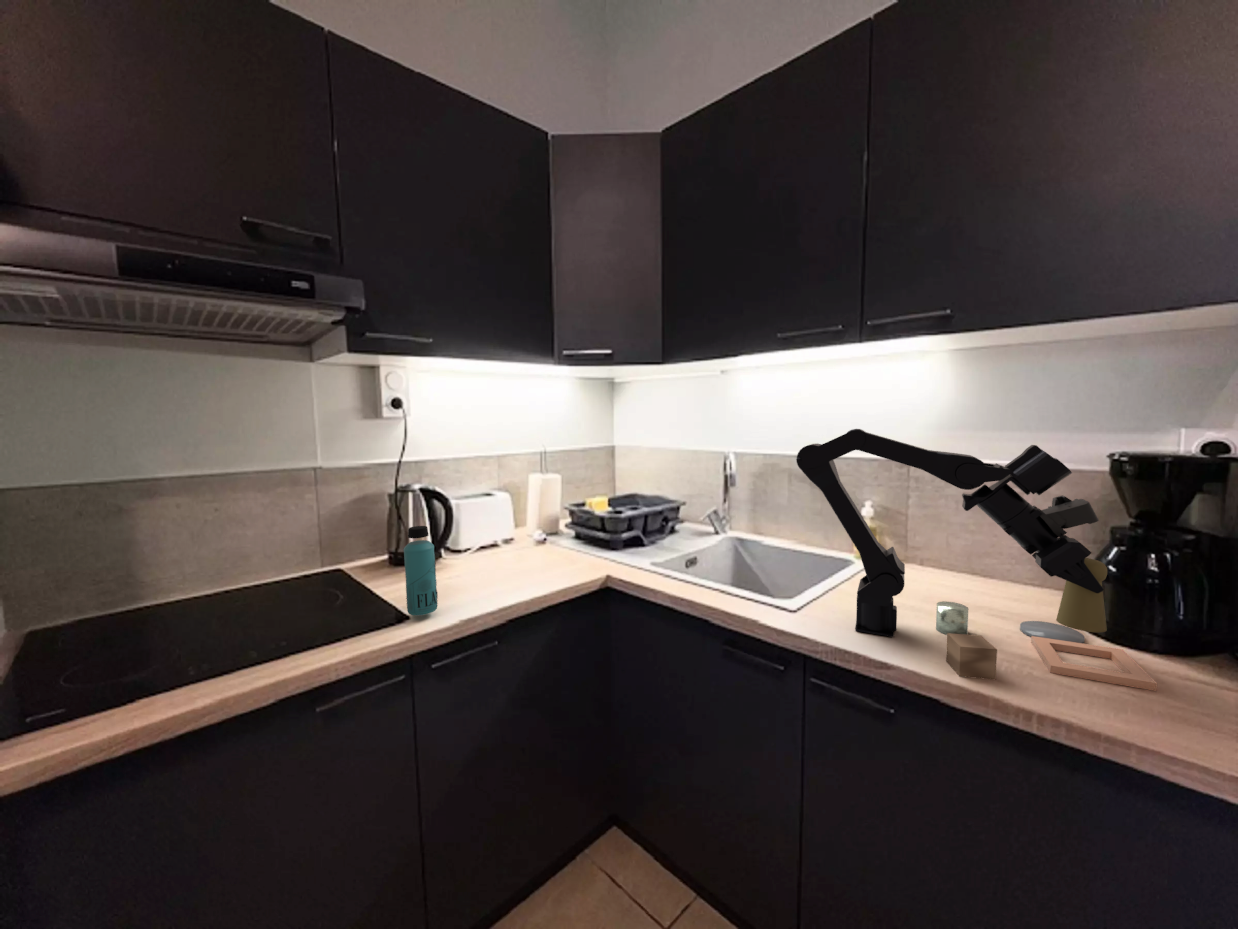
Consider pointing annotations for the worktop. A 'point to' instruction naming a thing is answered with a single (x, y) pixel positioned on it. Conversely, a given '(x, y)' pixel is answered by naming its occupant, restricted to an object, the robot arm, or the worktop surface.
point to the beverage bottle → (420, 573)
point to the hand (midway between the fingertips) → (1094, 586)
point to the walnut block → (971, 656)
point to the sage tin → (951, 618)
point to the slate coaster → (1051, 631)
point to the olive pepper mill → (1084, 603)
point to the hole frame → (1129, 676)
